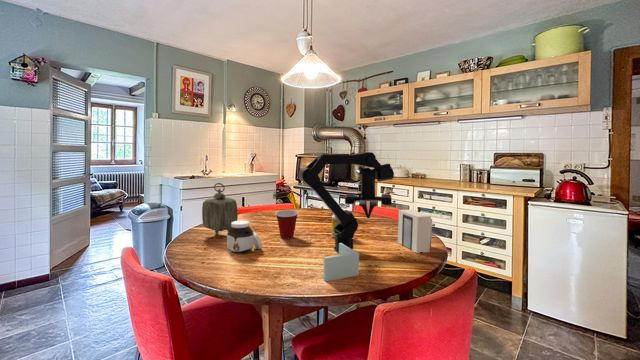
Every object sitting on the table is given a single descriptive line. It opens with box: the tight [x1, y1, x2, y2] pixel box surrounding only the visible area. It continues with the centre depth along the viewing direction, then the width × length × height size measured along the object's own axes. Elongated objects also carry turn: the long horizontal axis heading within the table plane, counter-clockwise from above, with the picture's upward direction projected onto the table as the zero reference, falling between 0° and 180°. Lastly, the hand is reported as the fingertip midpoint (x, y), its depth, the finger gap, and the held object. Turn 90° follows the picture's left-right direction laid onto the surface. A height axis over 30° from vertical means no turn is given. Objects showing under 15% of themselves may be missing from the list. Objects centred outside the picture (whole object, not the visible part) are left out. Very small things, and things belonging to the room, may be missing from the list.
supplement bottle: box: [331, 208, 345, 238], centre depth 140 cm, size 7×7×13 cm
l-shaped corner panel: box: [323, 243, 360, 282], centre depth 98 cm, size 12×12×8 cm
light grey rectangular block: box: [402, 218, 433, 250], centre depth 125 cm, size 10×5×12 cm, turn 106°
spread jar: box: [226, 220, 263, 255], centre depth 119 cm, size 12×11×12 cm
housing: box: [397, 209, 432, 254], centre depth 125 cm, size 6×14×15 cm, turn 16°
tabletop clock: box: [201, 182, 239, 239], centre depth 137 cm, size 14×9×25 cm, turn 58°
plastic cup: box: [274, 209, 300, 240], centre depth 137 cm, size 11×11×12 cm
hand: (368, 218), depth 126 cm, fingers closed
